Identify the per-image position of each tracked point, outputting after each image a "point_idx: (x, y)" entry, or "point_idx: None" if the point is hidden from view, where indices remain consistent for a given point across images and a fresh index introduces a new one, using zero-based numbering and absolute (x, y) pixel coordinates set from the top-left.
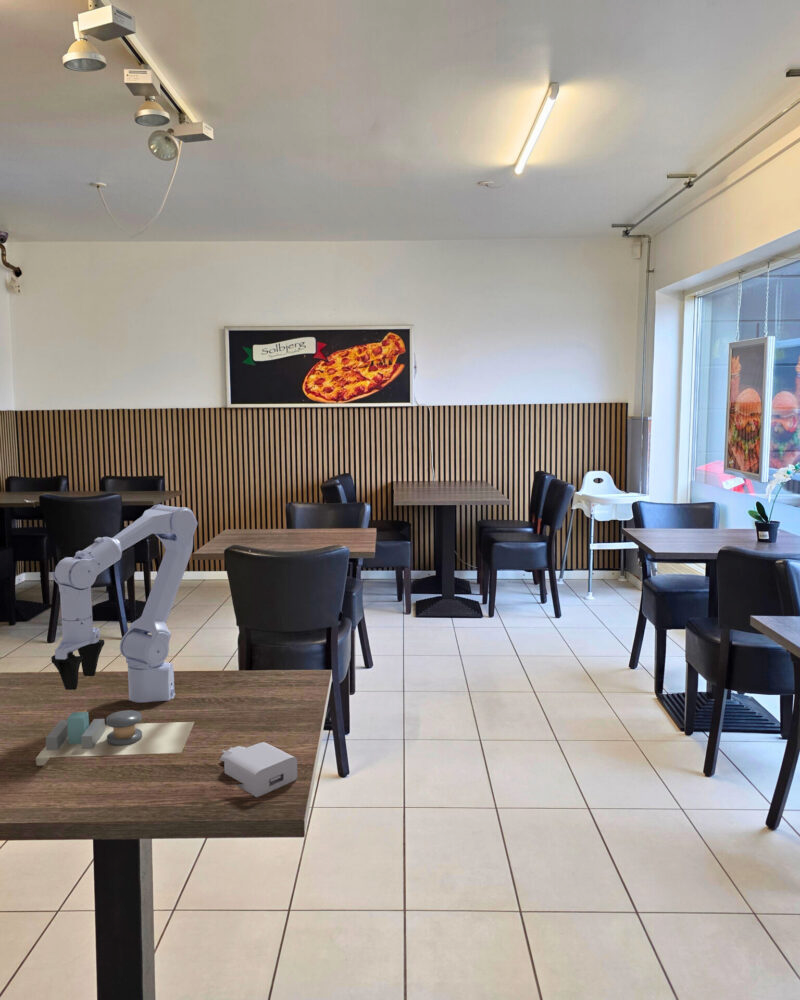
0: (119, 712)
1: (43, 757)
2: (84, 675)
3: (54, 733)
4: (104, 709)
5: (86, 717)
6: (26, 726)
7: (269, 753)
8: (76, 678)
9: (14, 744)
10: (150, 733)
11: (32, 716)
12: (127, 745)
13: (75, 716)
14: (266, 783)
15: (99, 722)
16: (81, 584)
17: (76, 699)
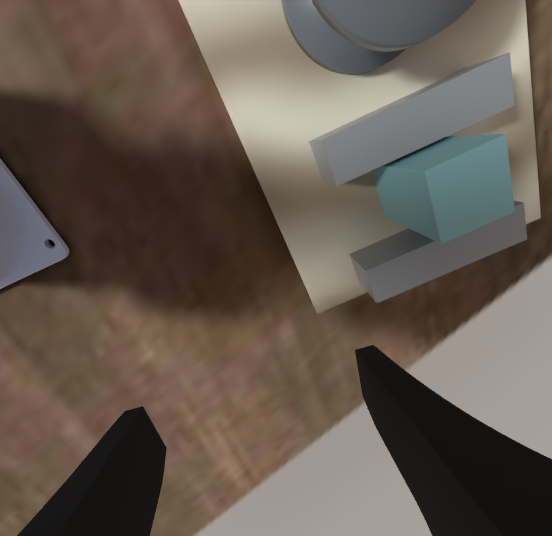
0: (351, 2)
1: (538, 197)
2: (164, 449)
3: (492, 235)
4: (107, 315)
5: (449, 154)
6: (302, 410)
7: None
8: (419, 387)
9: (403, 359)
10: None
11: (245, 440)
12: None
13: (487, 192)
14: None
15: (364, 133)
16: None
17: (96, 433)
